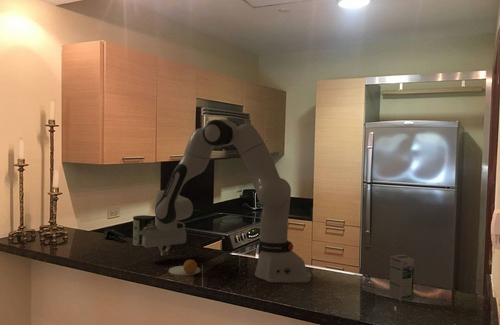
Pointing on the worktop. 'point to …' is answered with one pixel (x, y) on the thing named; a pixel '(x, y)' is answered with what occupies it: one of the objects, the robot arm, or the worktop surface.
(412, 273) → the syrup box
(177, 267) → the disc
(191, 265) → the ball
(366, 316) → the worktop surface
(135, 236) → the coffee can
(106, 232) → the can opener
